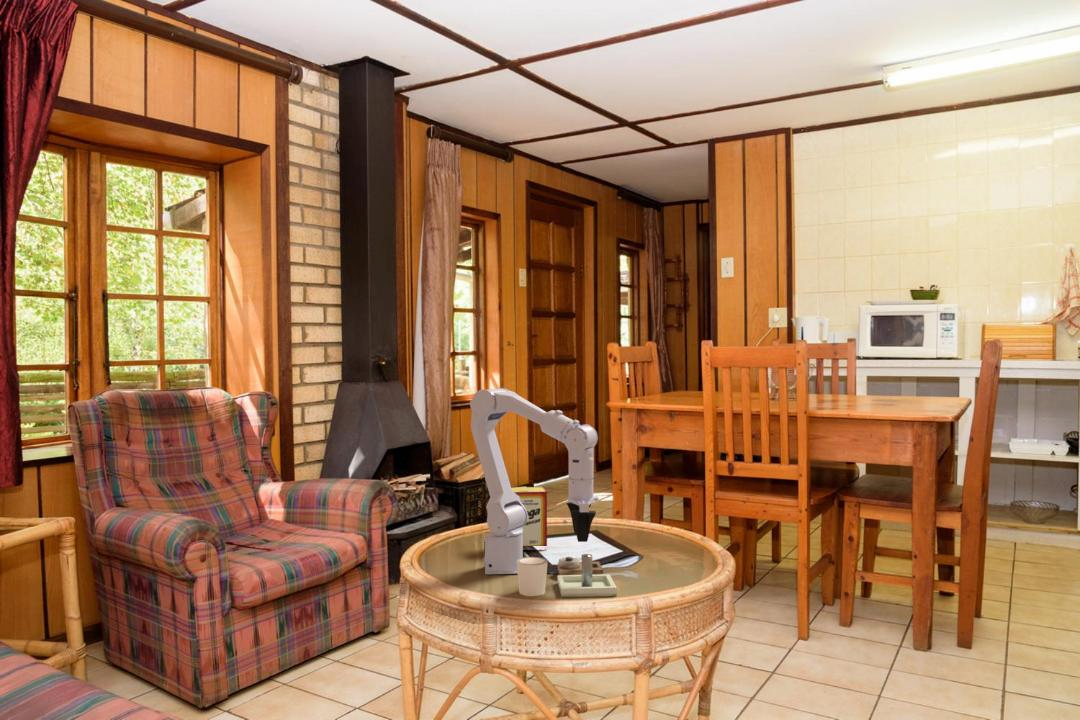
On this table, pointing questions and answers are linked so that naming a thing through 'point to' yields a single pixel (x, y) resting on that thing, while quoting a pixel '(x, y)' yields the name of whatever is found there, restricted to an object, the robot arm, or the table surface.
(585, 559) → the pin
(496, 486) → the robot arm
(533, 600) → the table surface
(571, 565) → the block
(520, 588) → the cream cylinder
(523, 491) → the baking soda box
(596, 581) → the tray
